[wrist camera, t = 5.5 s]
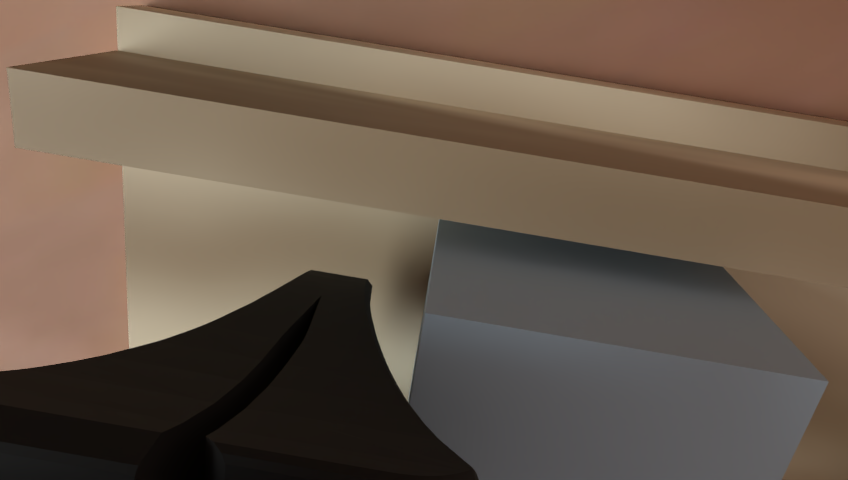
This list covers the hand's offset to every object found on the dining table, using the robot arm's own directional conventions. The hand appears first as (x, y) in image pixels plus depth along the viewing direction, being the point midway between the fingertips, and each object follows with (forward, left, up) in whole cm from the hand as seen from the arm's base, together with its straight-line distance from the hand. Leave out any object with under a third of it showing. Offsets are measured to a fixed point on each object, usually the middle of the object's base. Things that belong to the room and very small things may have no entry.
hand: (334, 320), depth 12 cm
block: (0, -4, -1) cm, 4 cm away
